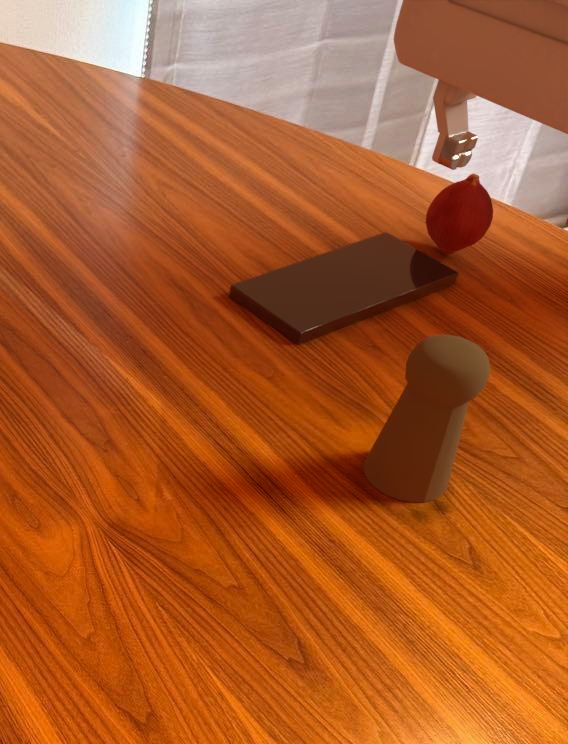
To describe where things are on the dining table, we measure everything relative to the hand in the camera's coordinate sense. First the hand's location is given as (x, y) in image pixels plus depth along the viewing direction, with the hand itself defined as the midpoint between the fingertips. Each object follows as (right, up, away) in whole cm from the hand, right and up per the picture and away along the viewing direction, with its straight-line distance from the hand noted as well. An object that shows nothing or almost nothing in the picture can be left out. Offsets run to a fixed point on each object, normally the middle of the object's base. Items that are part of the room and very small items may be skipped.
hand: (513, 195), depth 56 cm
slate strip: (+1, +3, +33) cm, 33 cm away
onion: (+13, +8, +39) cm, 42 cm away
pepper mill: (0, -15, +15) cm, 22 cm away
